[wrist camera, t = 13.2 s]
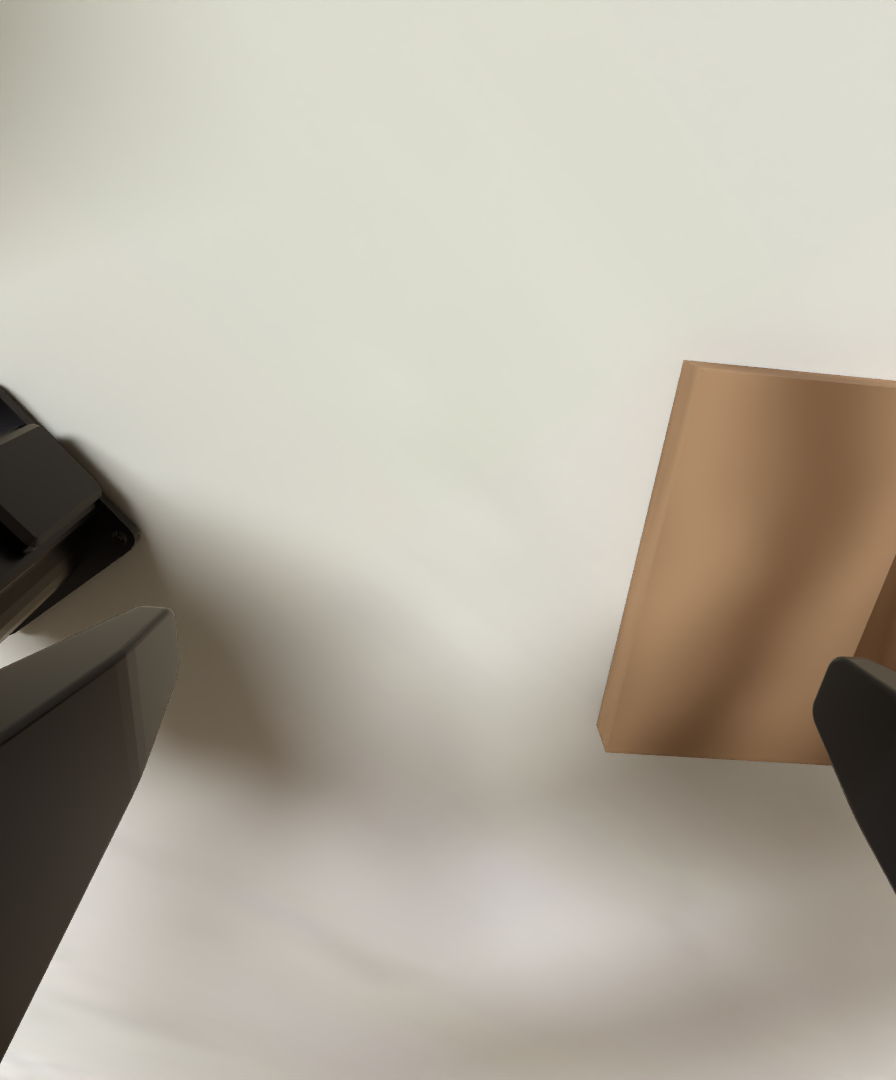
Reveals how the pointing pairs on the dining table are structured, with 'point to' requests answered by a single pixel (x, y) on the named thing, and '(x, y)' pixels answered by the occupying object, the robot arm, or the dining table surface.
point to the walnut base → (757, 564)
